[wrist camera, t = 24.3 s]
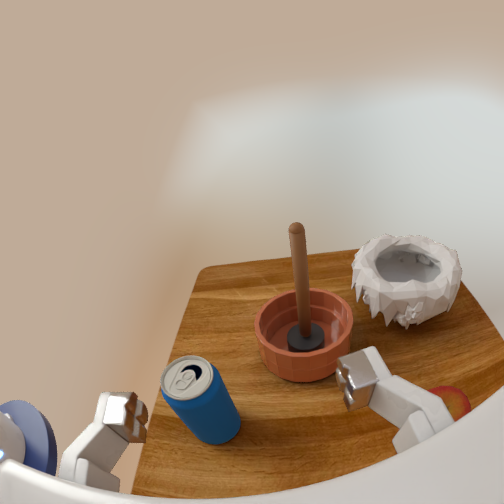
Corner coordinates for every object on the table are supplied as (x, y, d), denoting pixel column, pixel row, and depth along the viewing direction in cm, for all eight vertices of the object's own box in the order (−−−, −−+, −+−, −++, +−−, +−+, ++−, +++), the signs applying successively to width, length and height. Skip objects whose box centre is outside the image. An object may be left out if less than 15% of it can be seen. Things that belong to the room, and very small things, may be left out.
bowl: (466, 339, 32) (486, 290, 27) (350, 347, 38) (355, 297, 33) (436, 269, 49) (443, 226, 44) (348, 271, 55) (348, 228, 50)
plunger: (300, 365, 36) (287, 239, 27) (281, 342, 41) (262, 223, 31) (331, 347, 38) (331, 223, 28) (311, 327, 43) (302, 209, 33)
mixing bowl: (289, 400, 32) (285, 374, 29) (247, 340, 44) (239, 311, 40) (367, 352, 36) (373, 322, 33) (316, 306, 48) (315, 277, 45)
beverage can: (250, 416, 31) (229, 364, 25) (225, 454, 26) (191, 413, 20) (211, 399, 34) (182, 345, 28) (185, 432, 29) (144, 385, 24)
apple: (451, 458, 17) (481, 434, 14) (394, 458, 21) (414, 436, 17) (454, 407, 23) (478, 374, 19) (403, 406, 27) (420, 373, 23)
